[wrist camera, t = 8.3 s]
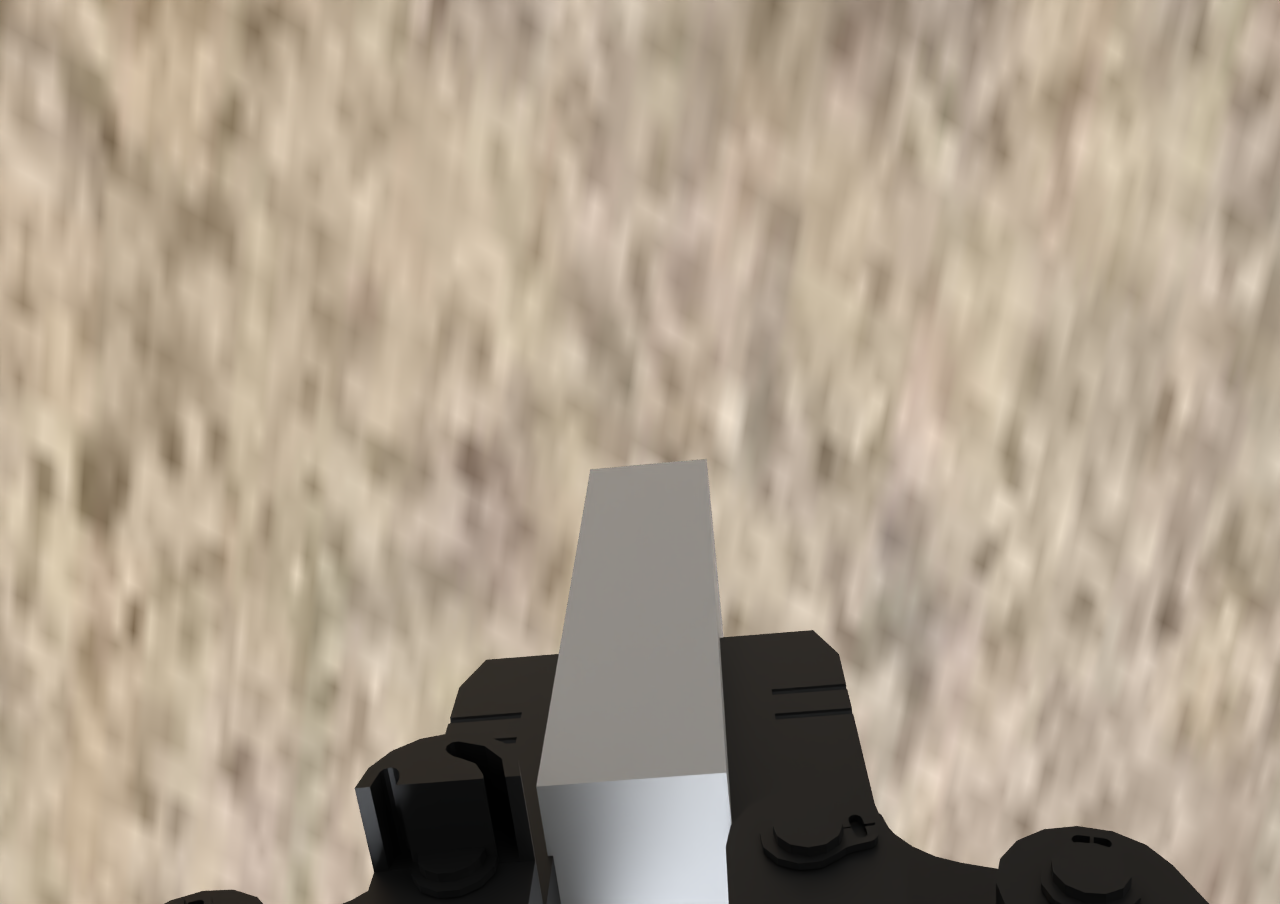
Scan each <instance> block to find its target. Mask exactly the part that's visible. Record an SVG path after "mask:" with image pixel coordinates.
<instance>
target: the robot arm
mask: <svg viewBox="0 0 1280 904" xmlns="http://www.w3.org/2000/svg"><path fill="white" fill-rule="evenodd" d="M450 720H451V723H450V724H448V727H447V730H446V734H444V735H439V736H434V737H428V738H423V739H419V740H417V741H414V742H412V743H410V744H407V745H405V746H403V747H400V748H398V749H395V750H393V751H391V752H390V753H388V754H387V755H386V756H384V757H383V758H382V759H380V760H379V761H378V762H376V763H375V764H374V765H372V766H371V767H369V768H368V770H367V771H366V773H365V774H364V775H363V777H362V778H361V780H360V781H359V783H358V784H357V786H356V787H355V791H356V796H357V800H358V804H359V809H360V813H361V817H362V822H363V826H364V830H365V834H366V839H367V843H368V847H369V852H370V856H371V860H372V865H373V869H374V875H373V878H372V881H371V884H370V887H369V890H368V891H367V892H365V893H363V894H362V895H360V896H358V897H356V898H355V899H353V900H351V901H348V902H346V903H343V904H1209V903H1208V902H1207V901H1206V900H1205V899H1204V898H1203V897H1202V896H1201V895H1200V894H1199V893H1198V892H1197V891H1196V890H1195V888H1194V887H1193V886H1192V885H1191V884H1190V883H1189V882H1188V881H1187V880H1186V879H1185V878H1184V877H1183V876H1182V875H1181V874H1180V873H1179V871H1178V870H1177V869H1176V868H1175V867H1174V866H1173V865H1172V864H1170V863H1169V862H1168V861H1167V860H1165V859H1164V858H1163V857H1161V856H1160V855H1159V854H1157V853H1156V852H1155V851H1153V850H1152V849H1151V848H1149V847H1148V846H1147V845H1145V844H1143V843H1140V842H1138V841H1135V840H1133V839H1130V838H1128V837H1125V836H1123V835H1120V834H1118V833H1115V832H1113V831H1106V830H1100V829H1093V828H1086V827H1079V826H1074V827H1063V828H1053V829H1044V830H1041V831H1039V832H1037V833H1034V834H1032V835H1029V836H1027V837H1025V838H1022V839H1020V840H1018V841H1016V842H1015V843H1014V845H1013V846H1012V847H1011V848H1010V849H1009V850H1008V851H1007V852H1006V853H1005V854H1004V855H1003V856H1002V857H1001V859H1000V863H999V868H998V869H995V868H989V867H983V866H977V865H971V864H965V863H959V862H955V861H951V860H947V859H943V858H939V857H935V856H933V855H931V854H928V853H926V852H924V851H921V850H919V849H917V848H915V847H912V846H911V845H909V844H908V843H907V842H905V841H904V840H902V839H901V838H899V837H898V836H897V835H895V834H894V833H893V832H892V831H891V830H890V829H889V827H888V826H887V824H886V822H885V821H884V819H883V817H882V815H881V814H879V813H878V811H877V808H876V806H875V804H874V799H873V795H872V791H871V787H870V783H869V779H868V774H867V770H866V766H865V762H864V758H863V753H862V749H861V745H860V741H859V737H858V732H857V728H856V724H855V720H854V716H853V714H852V707H851V703H850V699H849V695H848V691H847V689H846V682H845V678H844V674H843V670H842V665H841V661H840V657H839V654H838V653H837V652H836V651H835V650H834V649H833V648H832V647H831V646H829V645H828V644H827V643H826V642H825V641H824V640H823V639H822V638H821V637H820V636H819V635H818V634H817V633H815V632H814V631H813V630H810V631H798V632H785V633H773V634H760V635H748V636H735V637H723V627H722V616H721V606H720V595H719V585H718V574H717V564H716V553H715V543H714V532H713V522H712V511H711V501H710V490H709V479H708V469H707V459H701V460H690V461H679V462H668V463H657V464H645V465H634V466H623V467H612V468H601V469H590V475H589V481H588V487H587V493H586V498H585V504H584V510H583V516H582V522H581V528H580V534H579V539H578V545H577V551H576V557H575V563H574V569H573V574H572V580H571V586H570V592H569V598H568V604H567V609H566V615H565V621H564V627H563V633H562V639H561V645H560V650H559V654H554V655H541V656H529V657H516V658H504V659H491V660H486V661H485V662H484V663H483V664H482V665H481V666H480V667H479V668H478V669H477V670H476V671H475V672H474V673H473V674H472V675H471V676H470V677H469V678H468V679H467V680H466V681H465V682H464V683H463V684H462V685H461V686H460V687H459V690H458V694H457V697H456V700H455V704H454V707H453V710H452V714H451V717H450ZM165 904H263V903H262V902H261V901H260V900H259V899H258V898H257V897H255V896H252V895H248V894H245V893H242V892H239V891H236V890H215V891H201V892H198V893H195V894H191V895H188V896H184V897H181V898H178V899H174V900H171V901H169V902H167V903H165Z"/></svg>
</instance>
